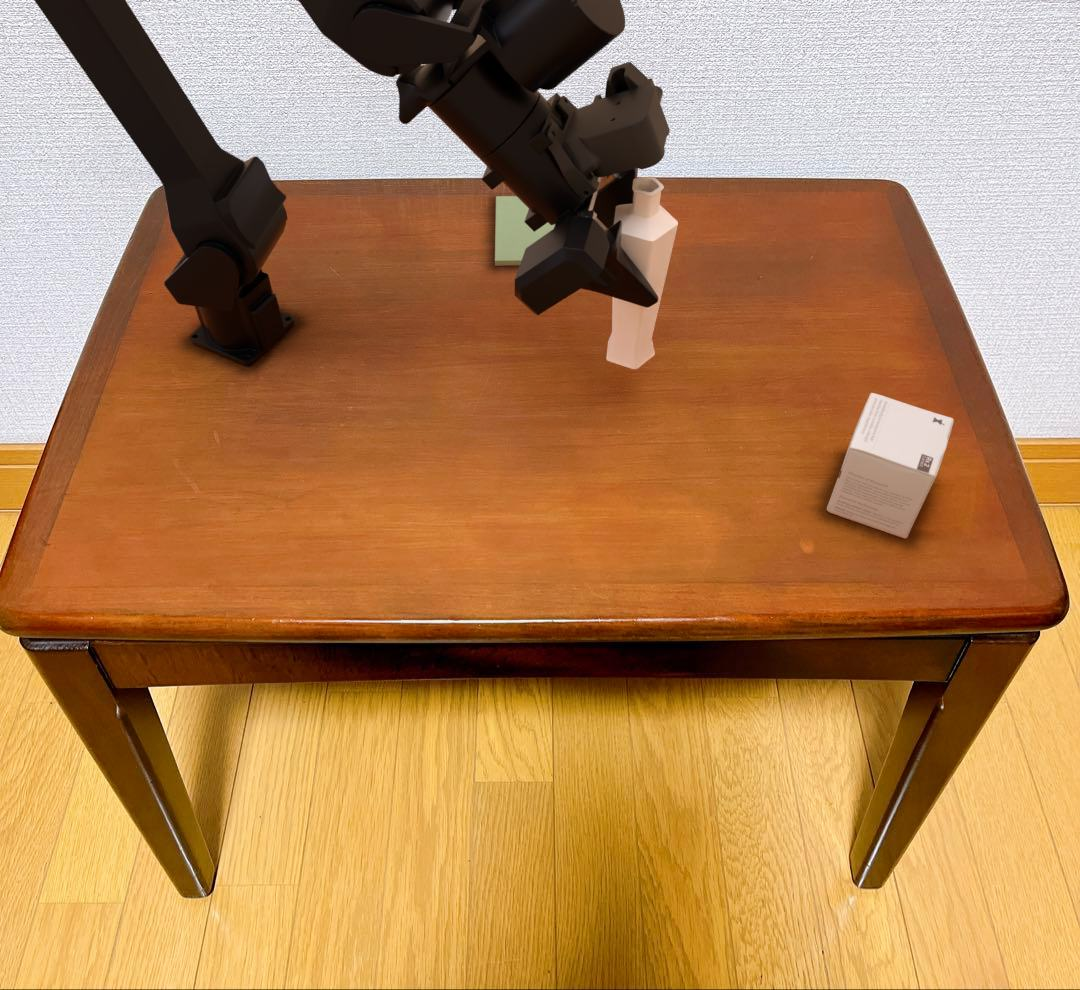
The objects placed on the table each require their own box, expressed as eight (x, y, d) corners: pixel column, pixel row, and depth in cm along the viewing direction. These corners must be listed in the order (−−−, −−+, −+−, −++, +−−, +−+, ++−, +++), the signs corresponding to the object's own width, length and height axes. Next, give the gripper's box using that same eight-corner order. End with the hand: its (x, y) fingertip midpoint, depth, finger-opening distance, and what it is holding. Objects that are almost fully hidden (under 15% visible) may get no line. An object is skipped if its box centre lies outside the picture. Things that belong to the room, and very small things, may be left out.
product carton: (845, 457, 78) (869, 389, 72) (925, 483, 76) (956, 415, 70) (824, 513, 74) (848, 446, 69) (907, 542, 73) (938, 475, 67)
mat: (495, 265, 93) (494, 260, 92) (496, 201, 99) (496, 196, 98) (647, 264, 93) (648, 258, 92) (639, 199, 99) (639, 194, 99)
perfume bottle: (658, 374, 78) (682, 208, 66) (601, 369, 78) (614, 203, 66) (660, 334, 81) (684, 168, 69) (605, 329, 81) (619, 163, 69)
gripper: (570, 133, 55) (738, 317, 63) (622, -18, 67) (760, 152, 74) (440, 233, 63) (605, 388, 70) (508, 80, 74) (643, 227, 81)
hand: (658, 282), depth 74 cm, fingers closed on perfume bottle, 4 cm apart
